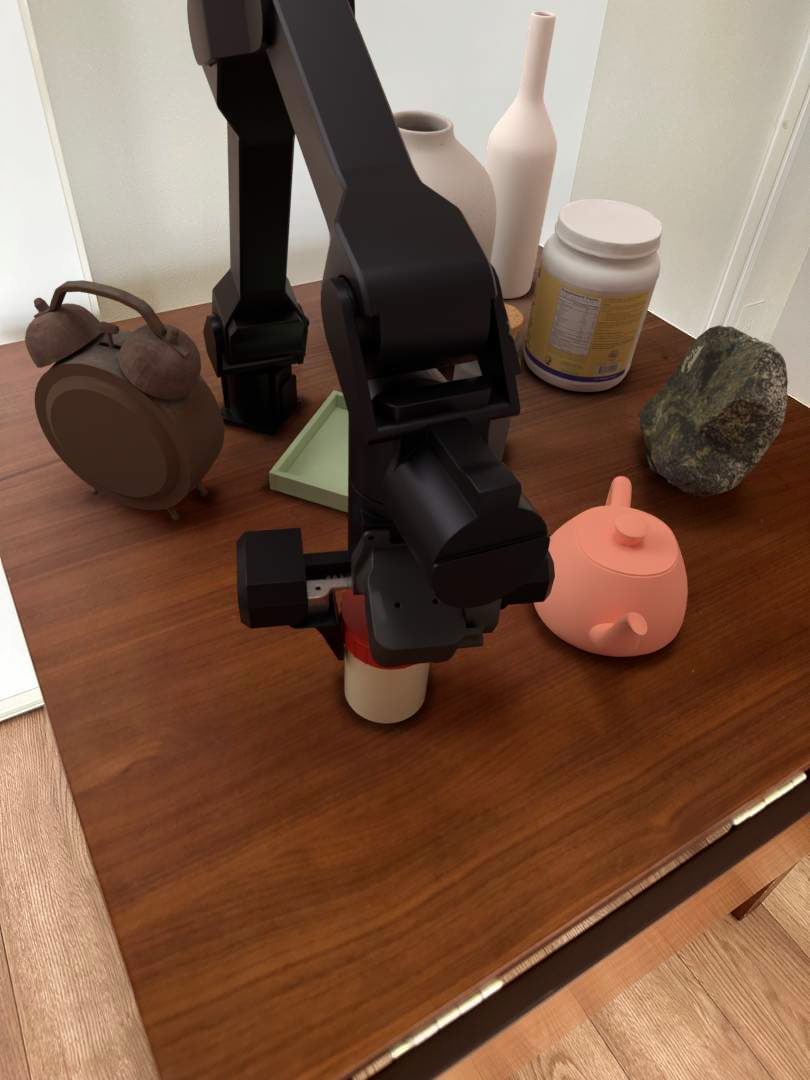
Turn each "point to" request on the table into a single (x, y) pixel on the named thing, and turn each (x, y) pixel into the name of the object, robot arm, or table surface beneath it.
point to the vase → (450, 170)
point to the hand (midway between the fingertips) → (388, 650)
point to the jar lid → (357, 629)
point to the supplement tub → (592, 294)
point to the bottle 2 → (472, 369)
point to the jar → (384, 690)
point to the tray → (318, 458)
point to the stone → (716, 412)
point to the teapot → (616, 580)
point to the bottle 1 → (523, 165)
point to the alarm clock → (124, 400)
